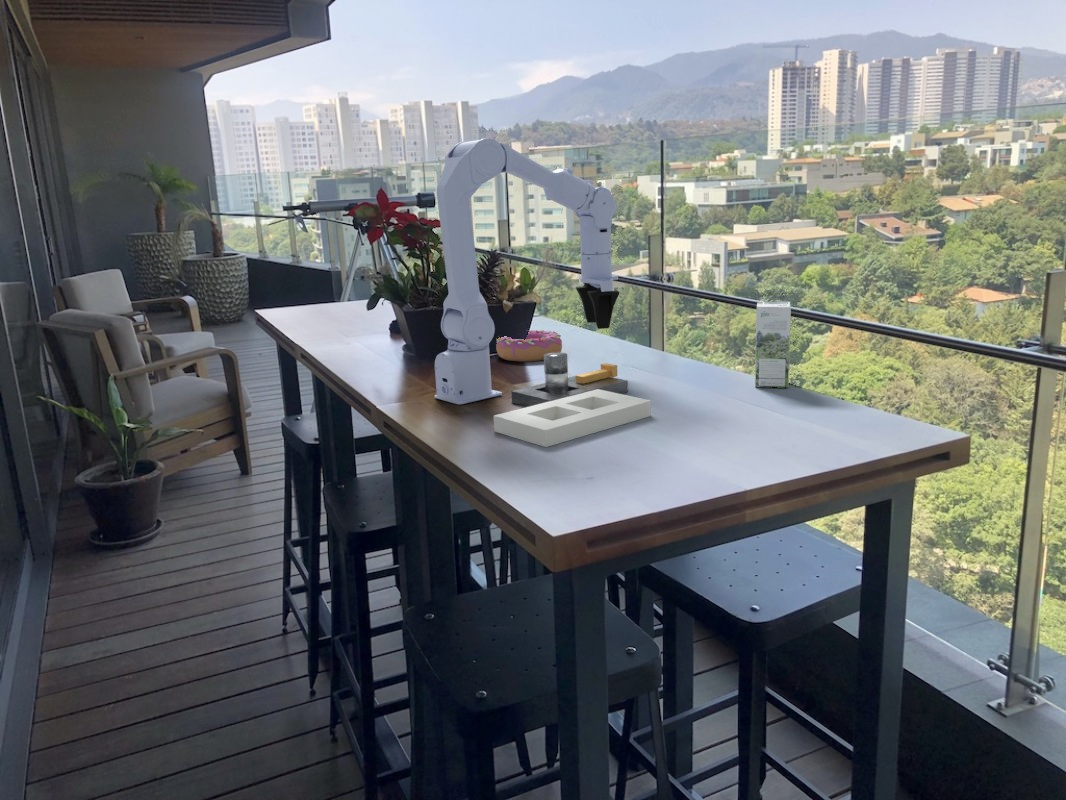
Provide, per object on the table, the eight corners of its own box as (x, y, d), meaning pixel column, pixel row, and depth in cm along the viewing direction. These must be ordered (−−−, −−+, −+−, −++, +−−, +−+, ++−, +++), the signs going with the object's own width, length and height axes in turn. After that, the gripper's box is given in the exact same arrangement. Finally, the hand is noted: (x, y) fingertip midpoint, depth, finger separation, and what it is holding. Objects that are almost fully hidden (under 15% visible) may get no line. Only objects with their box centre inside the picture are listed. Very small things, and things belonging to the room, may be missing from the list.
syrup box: (788, 381, 155) (790, 300, 152) (788, 389, 150) (791, 305, 146) (755, 380, 157) (757, 300, 153) (754, 388, 151) (756, 305, 148)
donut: (521, 348, 198) (520, 327, 197) (574, 353, 190) (574, 330, 189) (483, 360, 187) (481, 337, 185) (538, 366, 179) (537, 341, 177)
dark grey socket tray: (550, 412, 142) (549, 400, 141) (511, 402, 149) (511, 391, 149) (627, 391, 153) (627, 380, 153) (588, 383, 161) (588, 372, 160)
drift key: (585, 384, 151) (584, 373, 150) (573, 381, 153) (573, 370, 153) (617, 376, 156) (617, 365, 155) (605, 373, 158) (605, 363, 157)
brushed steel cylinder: (556, 404, 147) (554, 358, 145) (540, 400, 150) (538, 355, 148) (573, 400, 149) (572, 354, 147) (558, 396, 152) (556, 351, 150)
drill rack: (545, 447, 123) (545, 430, 123) (494, 431, 132) (493, 415, 132) (651, 415, 137) (651, 400, 136) (598, 403, 146) (597, 389, 145)
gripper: (628, 254, 156) (629, 329, 159) (606, 249, 170) (607, 318, 173) (590, 257, 155) (592, 332, 158) (571, 251, 169) (573, 320, 172)
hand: (597, 325), depth 166 cm, fingers open, 7 cm apart
